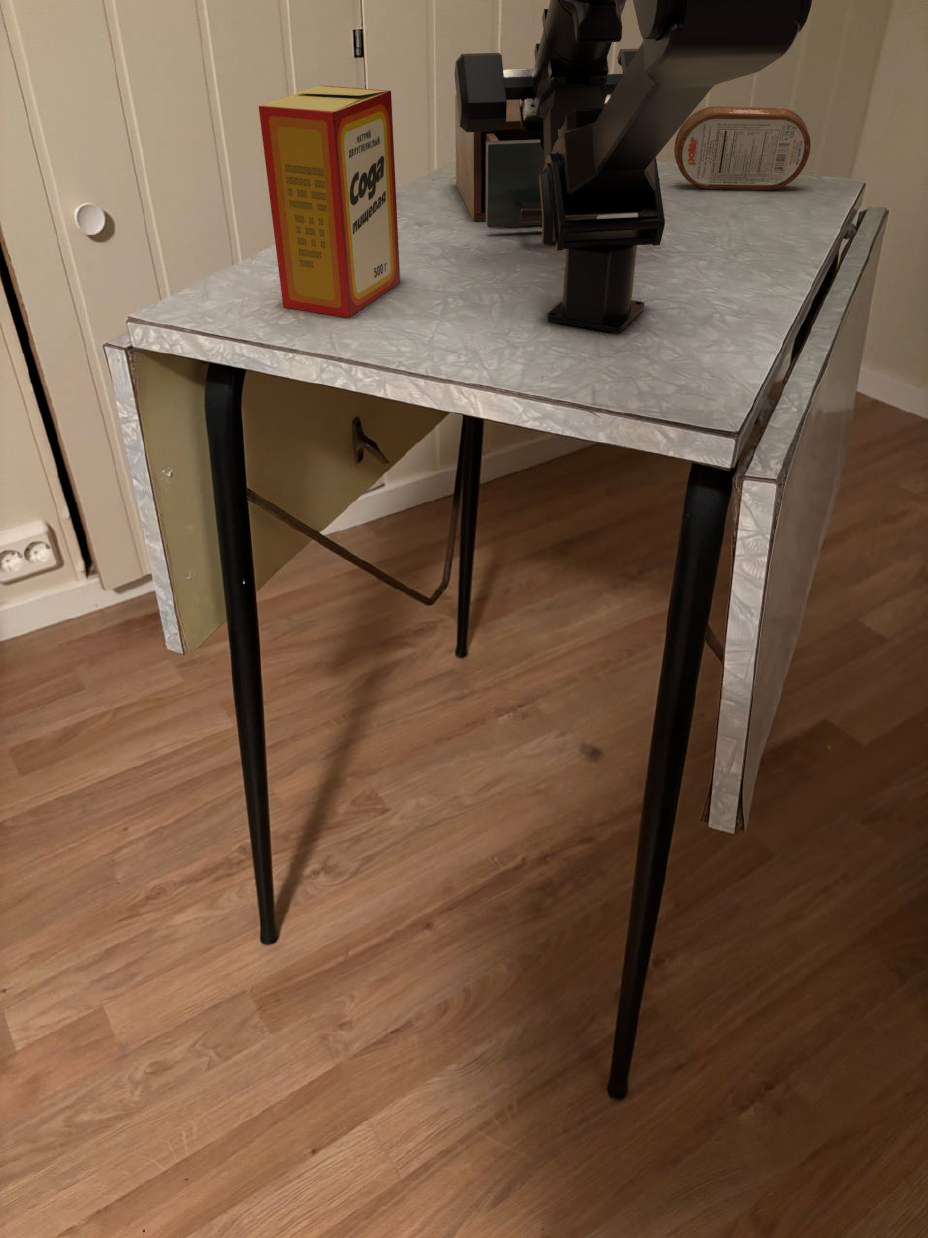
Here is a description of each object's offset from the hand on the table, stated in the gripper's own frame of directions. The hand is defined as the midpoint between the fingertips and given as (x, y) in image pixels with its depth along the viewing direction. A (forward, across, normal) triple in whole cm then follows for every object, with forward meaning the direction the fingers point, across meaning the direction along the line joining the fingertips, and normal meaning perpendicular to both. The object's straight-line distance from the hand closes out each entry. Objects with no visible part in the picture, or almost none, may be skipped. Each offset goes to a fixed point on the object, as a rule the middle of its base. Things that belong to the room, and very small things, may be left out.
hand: (545, 145), depth 95 cm
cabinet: (+15, 0, +3) cm, 16 cm away
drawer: (+9, 0, -2) cm, 9 cm away
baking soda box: (-4, -21, -16) cm, 27 cm away
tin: (+16, +26, +4) cm, 31 cm away
